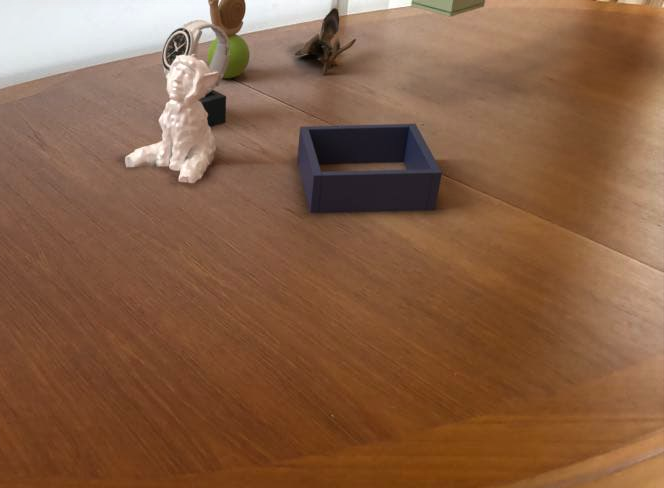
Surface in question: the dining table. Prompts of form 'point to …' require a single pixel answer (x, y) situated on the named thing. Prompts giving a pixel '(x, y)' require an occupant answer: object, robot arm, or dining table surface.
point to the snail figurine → (230, 34)
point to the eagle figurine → (326, 42)
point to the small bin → (448, 6)
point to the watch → (187, 44)
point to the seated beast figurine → (182, 123)
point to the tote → (367, 186)
